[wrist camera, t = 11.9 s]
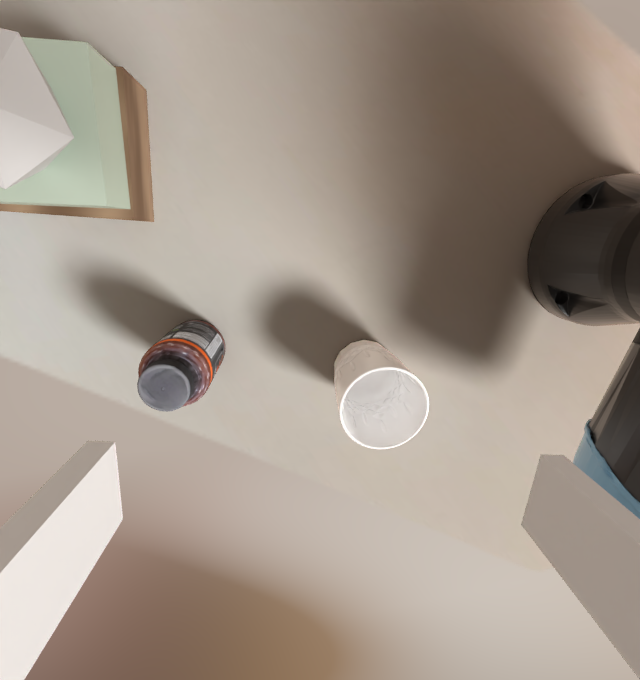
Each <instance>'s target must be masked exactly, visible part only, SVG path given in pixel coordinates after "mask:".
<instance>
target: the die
mask: <svg viewBox="0 0 640 680" xmlns="http://www.w3.org/2000/svg"><path fill="white" fill-rule="evenodd" d="M73 139H74V136H73V134H72V132H71V130H70V128H69V125H68V123H67V121H66V119H65V117H64V114H63V112H62V110H61V108H60V106H59V104H58V101H57V99H56V97H55V95H54V93H53V91H52V89H51V87H50V85H49V84H48V82H47V80H46V79H45V77H44V75H43V74H42V72H41V70H40V68H39V67H38V65H37V63H36V62H35V60H34V58H33V57H32V55H31V53H30V51H29V50H28V48H27V46H26V45H25V43H24V41H23V40H22V38H21V36H20V34H19V33H18V32H16V31H12V30H8V29H4V28H0V188H3V189H7V188H9V187H11V186H13V185H15V184H17V183H19V182H21V181H23V180H25V179H27V178H29V177H31V176H32V175H34V174H36V173H38V172H40V171H42V170H44V169H45V168H46V167H47V166H48V165H49V164H50V163H51V162H52V161H53V160H54V159H55V158H56V156H57V155H58V154H59V153H60V152H61V151H62V150H63V149H64V148H65V147H66V146H67V145H68V144H69V143H70V142H71V141H72V140H73Z"/></svg>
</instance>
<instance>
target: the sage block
mask: <svg viewBox="0 0 640 680" xmlns="http://www.w3.org/2000/svg"><path fill="white" fill-rule="evenodd" d="M21 38H22V40H23V41H24V43H25V45H26V46H27V48H28V50H29V51H30V53H31V55H32V57H33V58H34V60H35V62H36V63H37V65H38V67H39V68H40V70H41V72H42V74H43V75H44V77H45V79H46V80H47V82H48V84H49V85H50V87H51V89H52V91H53V93H54V95H55V97H56V99H57V101H58V104H59V106H60V108H61V110H62V112H63V114H64V117H65V119H66V121H67V123H68V125H69V128H70V130H71V132H72V134H73V136H74V139H73V140H72V141H71V142H70V143H69V144H68V145H67V146H66V147H65V148H64V149H63V150H62V151H61V152H60V153H59V154H58V155H57V156H56V158H55V159H54V160H53V161H52V162H51V163H50V164H49V165H48V166H47V167H46V168H45V169H44V170H42V171H40V172H38V173H36V174H34V175H32V176H31V177H29V178H27V179H25V180H23V181H21V182H19V183H17V184H15V185H13V186H11V187H9V188H7V189H3V188H0V204H17V205H41V206H65V207H88V208H112V209H131V208H130V199H129V189H128V180H127V170H126V161H125V151H124V142H123V132H122V123H121V113H120V104H119V94H118V85H117V75H116V68H115V67H113V66H112V65H111V64H110V63H109V62H108V61H107V60H106V59H105V58H104V57H103V56H102V55H101V54H99V53H98V52H97V51H96V50H95V49H94V48H93V47H92V46H91V45H90V44H89V43H88V42H80V41H67V40H55V39H42V38H29V37H21Z"/></svg>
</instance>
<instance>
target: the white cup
mask: <svg viewBox="0 0 640 680" xmlns="http://www.w3.org/2000/svg"><path fill="white" fill-rule="evenodd" d="M334 384H335V392H336V399H337V405H338V411H339V417H340V422H341V425H342V427H343V429H344V431H345V432H346V434H347V435H348V436H349V437H350V438H351V439H352V440H353V441H355V442H356V443H358V444H360V445H362V446H364V447H368V448H372V449H388V448H393V447H396V446H399V445H401V444H403V443H405V442H407V441H408V440H410V439H411V438H412V437H414V436H415V435H416V434H417V433H418V432H419V430H420V429H421V428H422V426H423V424H424V423H425V421H426V418H427V415H428V411H429V398H428V394H427V391H426V389H425V387H424V385H423V384H422V382H421V381H420V380H419V379H418V378H417V377H416V376H415V375H414V374H413V373H412V372H411V371H410V370H409V369H408V368H407V367H406V366H405V365H404V364H403V363H402V362H401V361H400V360H399V359H398V358H397V357H396V356H394V355H393V354H392V353H391V352H390V351H388V350H387V349H385V348H384V347H383V346H382V345H380V344H379V343H378V342H373V341H368V340H361V341H357V342H353V343H350V344H349V345H348V346H346V347H345V348H344V349H342V350H341V351H340V352H339V354H338V356H337V358H336V360H335V362H334Z"/></svg>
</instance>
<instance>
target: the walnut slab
mask: <svg viewBox="0 0 640 680" xmlns="http://www.w3.org/2000/svg"><path fill="white" fill-rule="evenodd" d="M113 67H115V68H116V75H117V85H118V94H119V104H120V113H121V123H122V132H123V142H124V151H125V161H126V170H127V180H128V189H129V199H130V208H131V209H112V208H88V207H65V206H41V205H17V204H0V211H9V212H23V213H37V214H51V215H65V216H79V217H93V218H107V219H122V220H136V221H150V222H154V212H153V195H152V178H151V161H150V144H149V127H148V110H147V93H146V89H145V88H144V87H143V86H142V85H141V84H140V83H138V82H137V81H136V80H135V79H134V78H133V77H132V76H131V75H130V74H129V73H128V72H127V71H126V70H125V69H124V68H123V67H117V66H113Z"/></svg>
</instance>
